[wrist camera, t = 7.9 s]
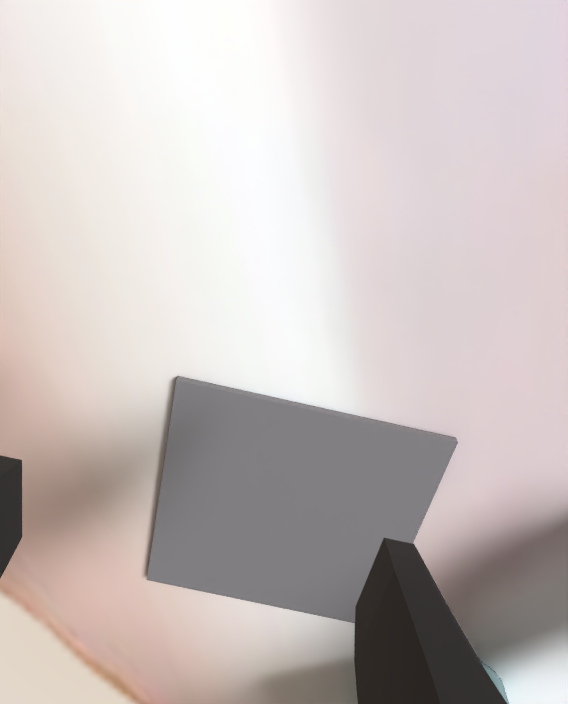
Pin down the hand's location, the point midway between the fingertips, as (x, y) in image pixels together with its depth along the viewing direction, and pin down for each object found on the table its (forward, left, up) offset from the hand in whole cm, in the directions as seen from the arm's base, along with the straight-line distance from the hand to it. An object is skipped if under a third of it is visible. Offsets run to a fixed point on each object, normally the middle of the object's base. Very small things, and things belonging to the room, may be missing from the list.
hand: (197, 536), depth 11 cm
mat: (-3, +8, -10) cm, 13 cm away
